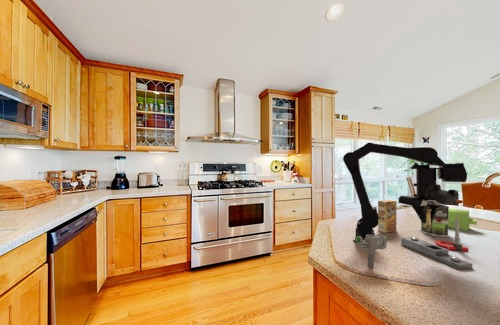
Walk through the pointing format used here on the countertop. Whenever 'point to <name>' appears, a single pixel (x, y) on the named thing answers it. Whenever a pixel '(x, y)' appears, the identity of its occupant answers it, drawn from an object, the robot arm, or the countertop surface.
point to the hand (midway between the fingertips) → (426, 223)
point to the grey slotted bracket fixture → (435, 252)
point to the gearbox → (460, 218)
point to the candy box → (387, 216)
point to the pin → (428, 219)
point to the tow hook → (456, 245)
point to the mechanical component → (371, 245)
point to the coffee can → (438, 224)
